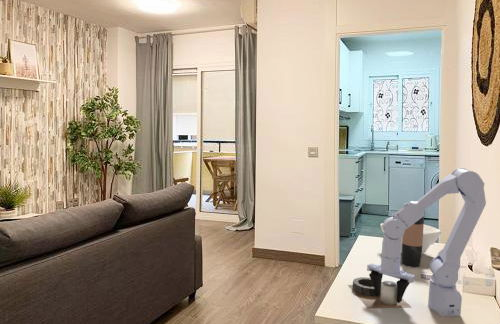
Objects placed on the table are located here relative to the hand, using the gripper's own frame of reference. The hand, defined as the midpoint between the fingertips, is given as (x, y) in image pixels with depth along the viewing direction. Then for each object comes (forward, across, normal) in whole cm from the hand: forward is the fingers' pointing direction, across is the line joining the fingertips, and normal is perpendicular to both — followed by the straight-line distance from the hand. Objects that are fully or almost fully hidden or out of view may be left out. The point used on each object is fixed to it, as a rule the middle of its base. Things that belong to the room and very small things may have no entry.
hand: (388, 298), depth 132 cm
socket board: (+2, +4, -2) cm, 5 cm away
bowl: (+2, +18, -60) cm, 63 cm away
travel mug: (+2, +10, -44) cm, 46 cm away
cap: (+1, 0, 0) cm, 1 cm away
